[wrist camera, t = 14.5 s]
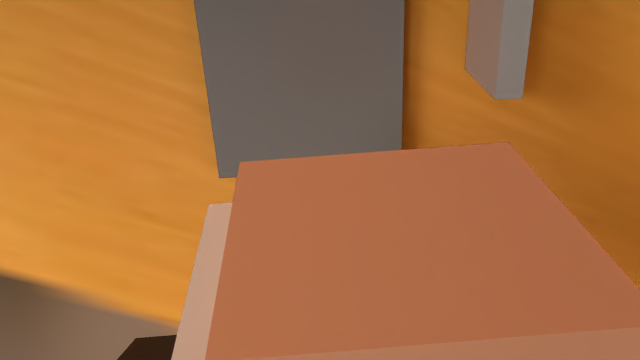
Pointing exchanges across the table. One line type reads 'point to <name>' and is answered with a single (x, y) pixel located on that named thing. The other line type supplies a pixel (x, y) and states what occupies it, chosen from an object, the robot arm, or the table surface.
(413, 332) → the block
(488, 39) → the chute
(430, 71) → the table surface
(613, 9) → the table surface
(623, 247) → the table surface
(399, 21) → the coaster
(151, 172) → the table surface
